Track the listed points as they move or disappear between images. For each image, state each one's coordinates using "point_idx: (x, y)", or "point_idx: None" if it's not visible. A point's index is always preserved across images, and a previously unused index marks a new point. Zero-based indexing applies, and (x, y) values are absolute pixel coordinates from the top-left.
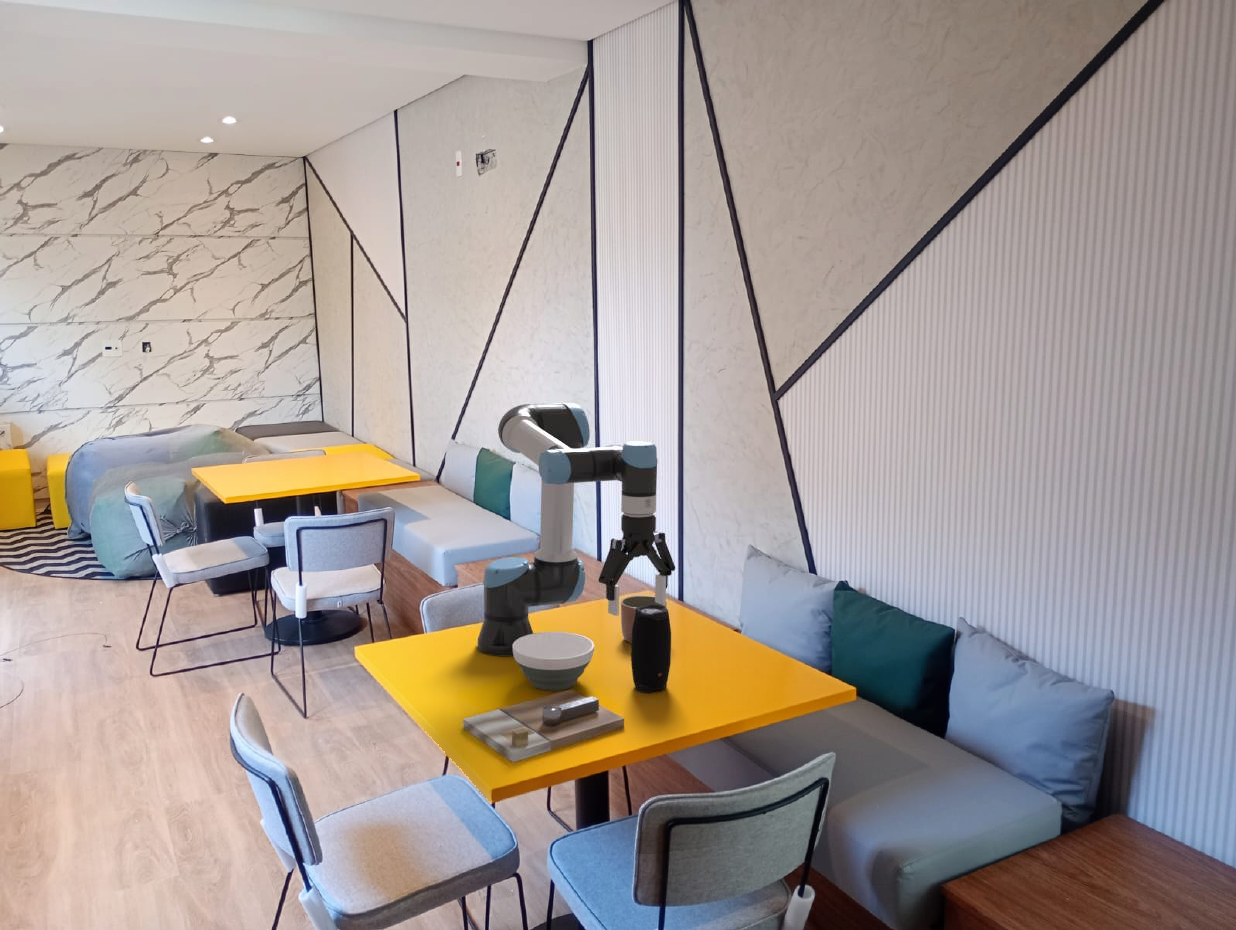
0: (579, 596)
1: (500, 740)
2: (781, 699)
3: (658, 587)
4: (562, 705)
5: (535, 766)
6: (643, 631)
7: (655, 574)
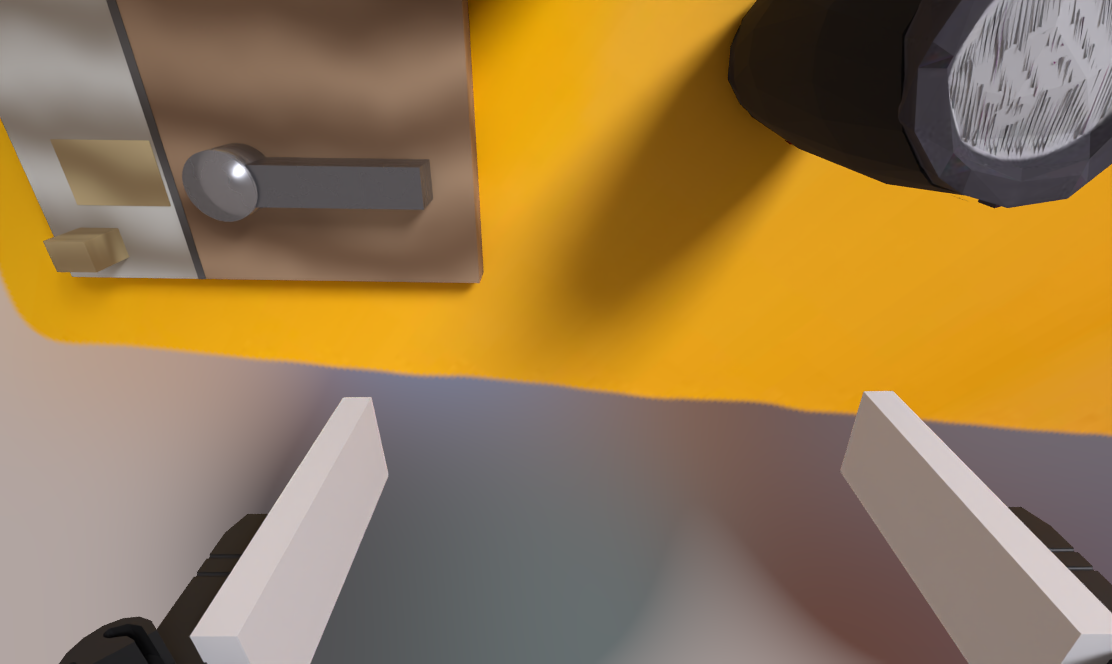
0: None
1: (45, 185)
2: (982, 390)
3: (940, 531)
4: (275, 171)
5: (152, 316)
6: (836, 111)
7: (1076, 627)
